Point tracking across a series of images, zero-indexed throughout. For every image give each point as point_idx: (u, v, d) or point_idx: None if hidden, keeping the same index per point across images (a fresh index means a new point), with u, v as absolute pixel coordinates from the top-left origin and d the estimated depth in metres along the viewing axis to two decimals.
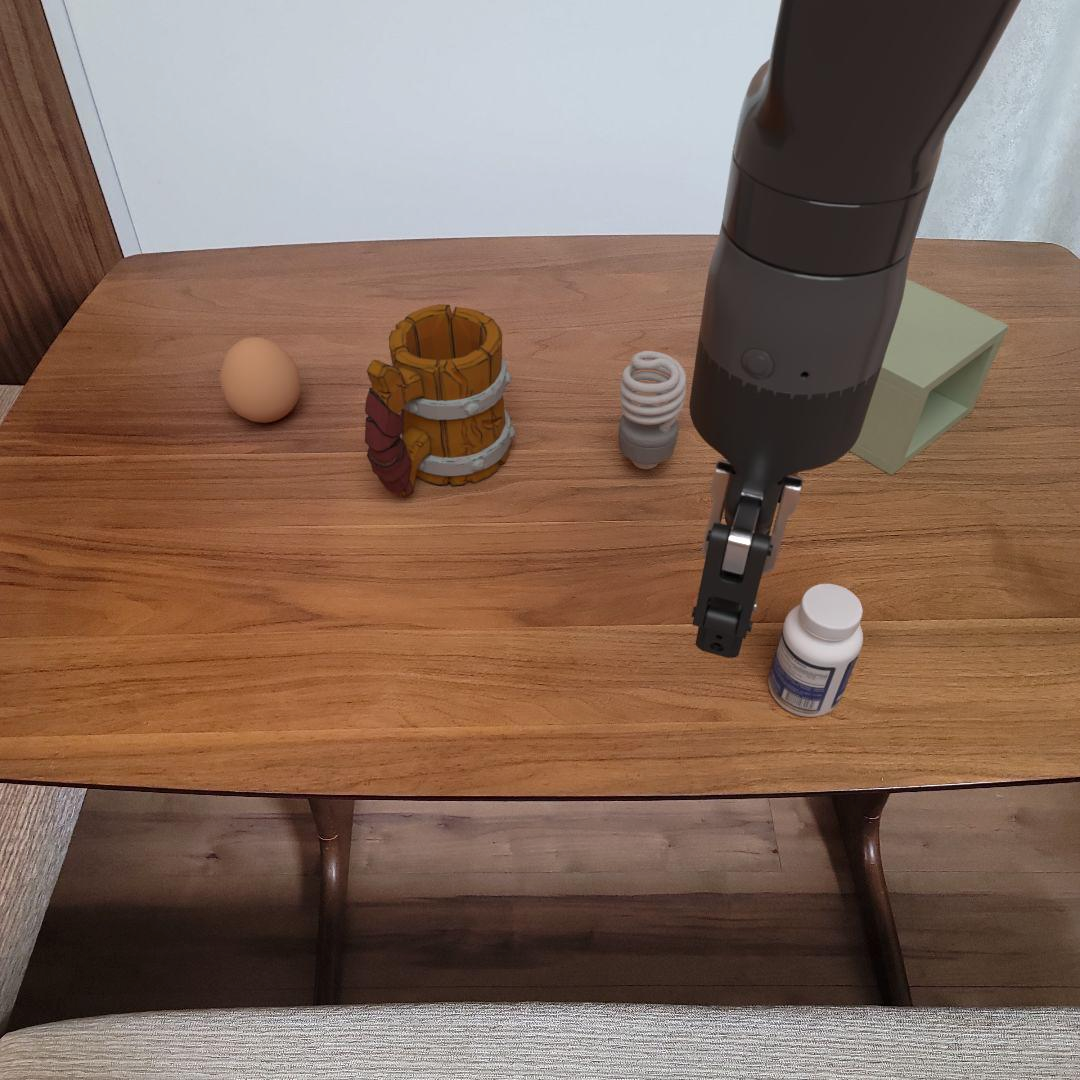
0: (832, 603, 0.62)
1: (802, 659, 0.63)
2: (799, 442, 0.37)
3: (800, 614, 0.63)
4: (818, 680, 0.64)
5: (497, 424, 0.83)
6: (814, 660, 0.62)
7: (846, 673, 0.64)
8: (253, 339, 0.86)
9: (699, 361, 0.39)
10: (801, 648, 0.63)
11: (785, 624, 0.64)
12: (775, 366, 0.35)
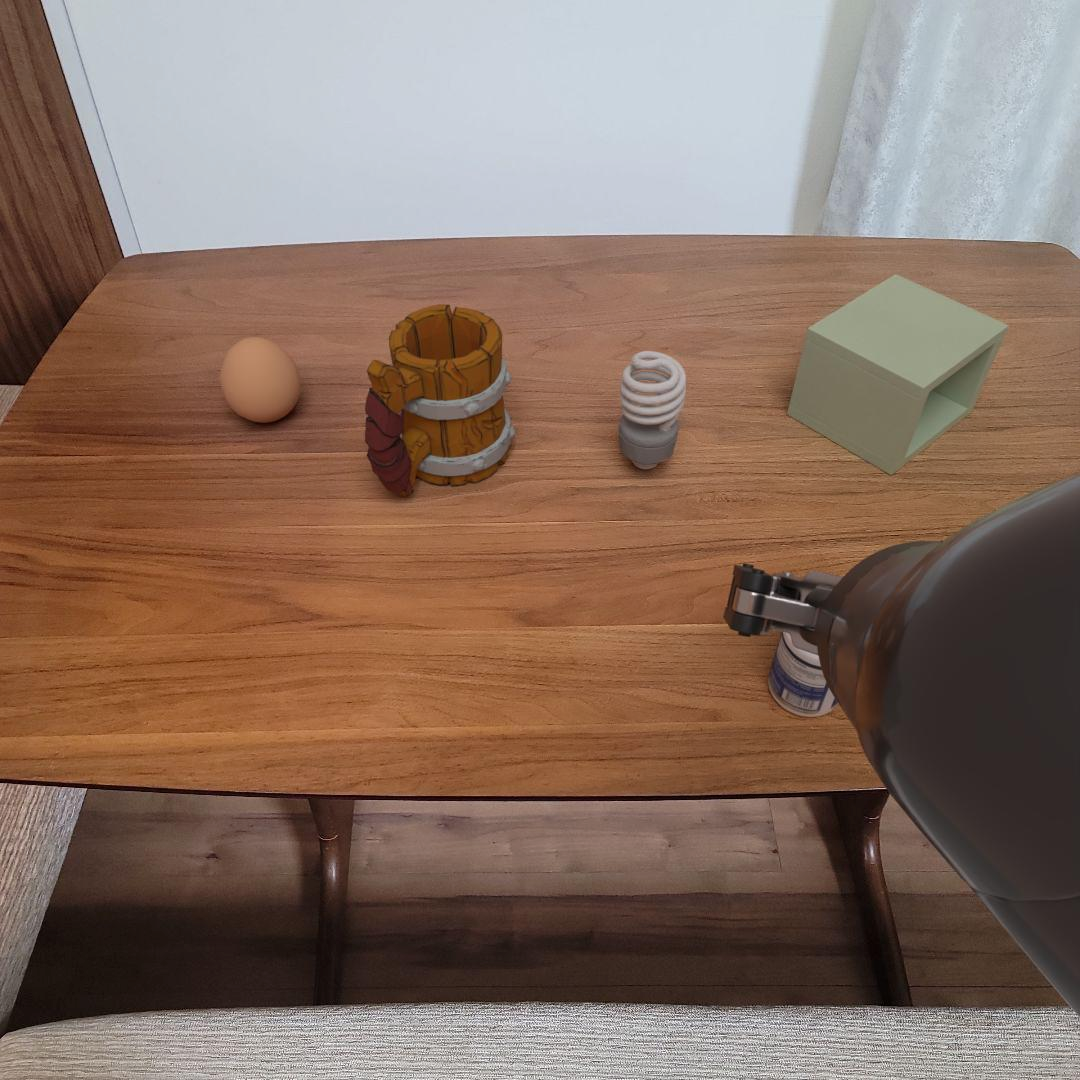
0: None
1: (802, 659, 0.63)
2: None
3: None
4: (818, 680, 0.64)
5: (498, 424, 0.83)
6: (815, 660, 0.62)
7: None
8: (253, 339, 0.86)
9: None
10: None
11: None
12: None
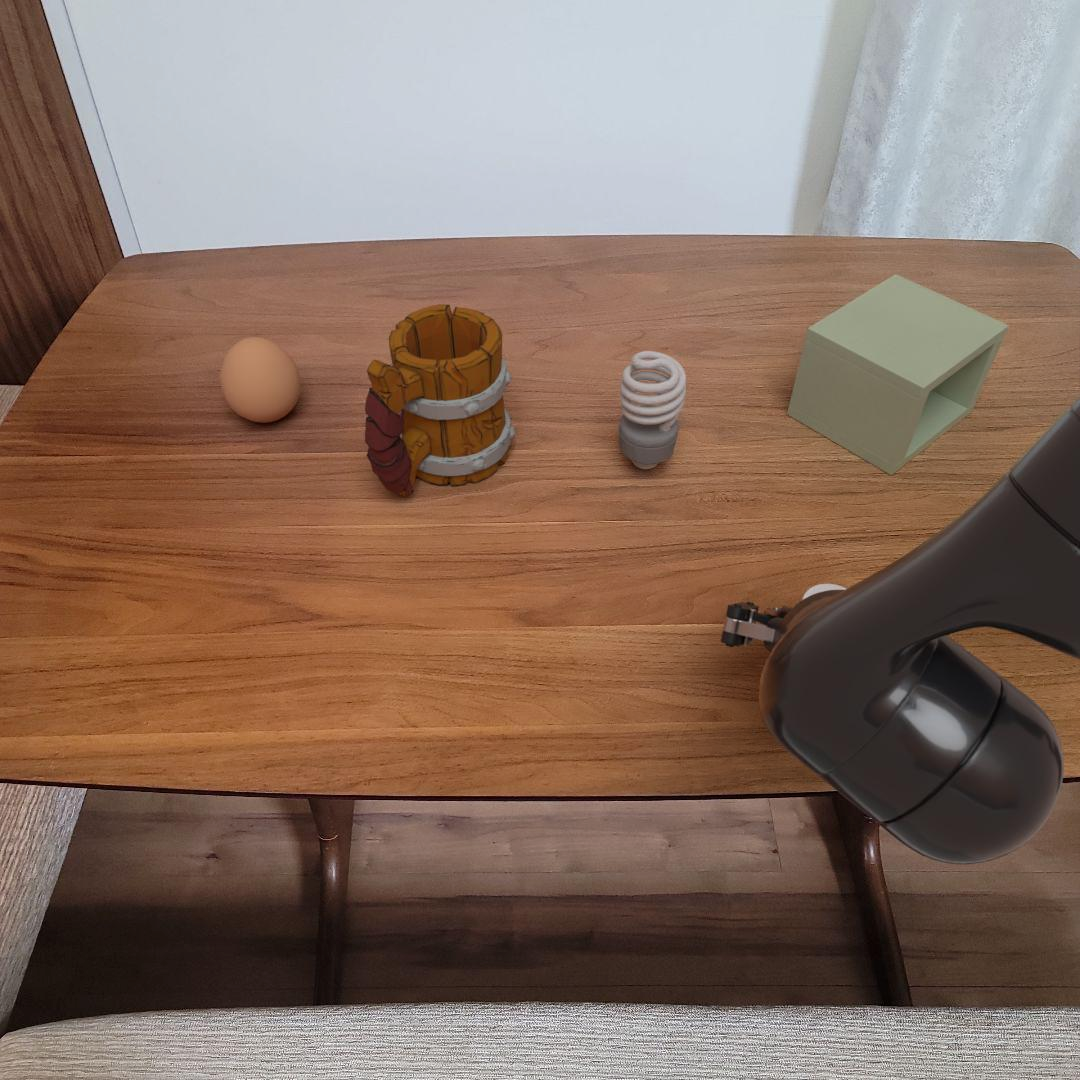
0: None
1: None
2: None
3: None
4: None
5: (498, 424, 0.83)
6: None
7: None
8: (253, 339, 0.86)
9: None
10: None
11: None
12: None
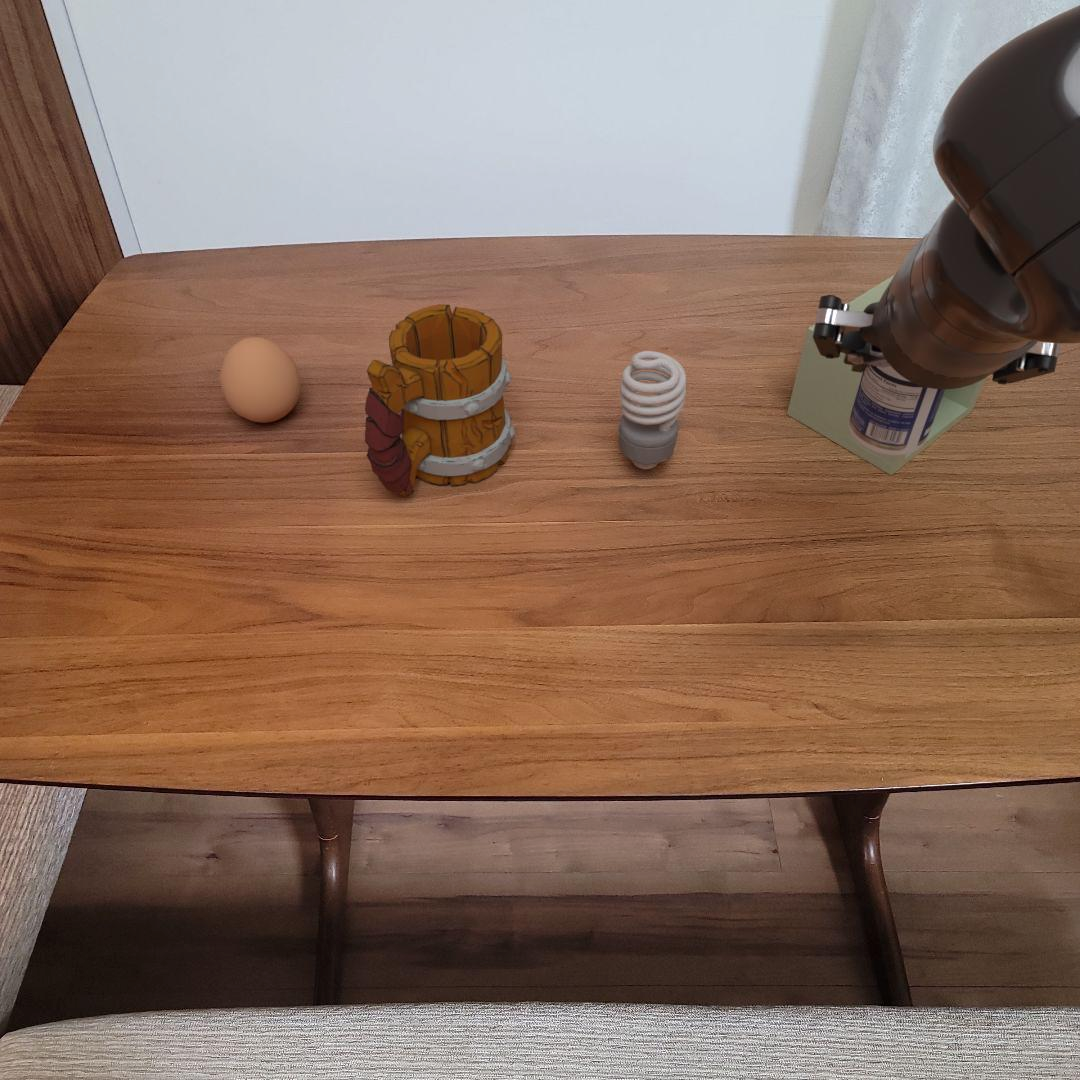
0: None
1: (893, 376, 0.60)
2: None
3: None
4: (909, 402, 0.61)
5: (498, 424, 0.83)
6: None
7: (937, 395, 0.61)
8: (253, 339, 0.86)
9: (979, 377, 0.48)
10: None
11: None
12: None
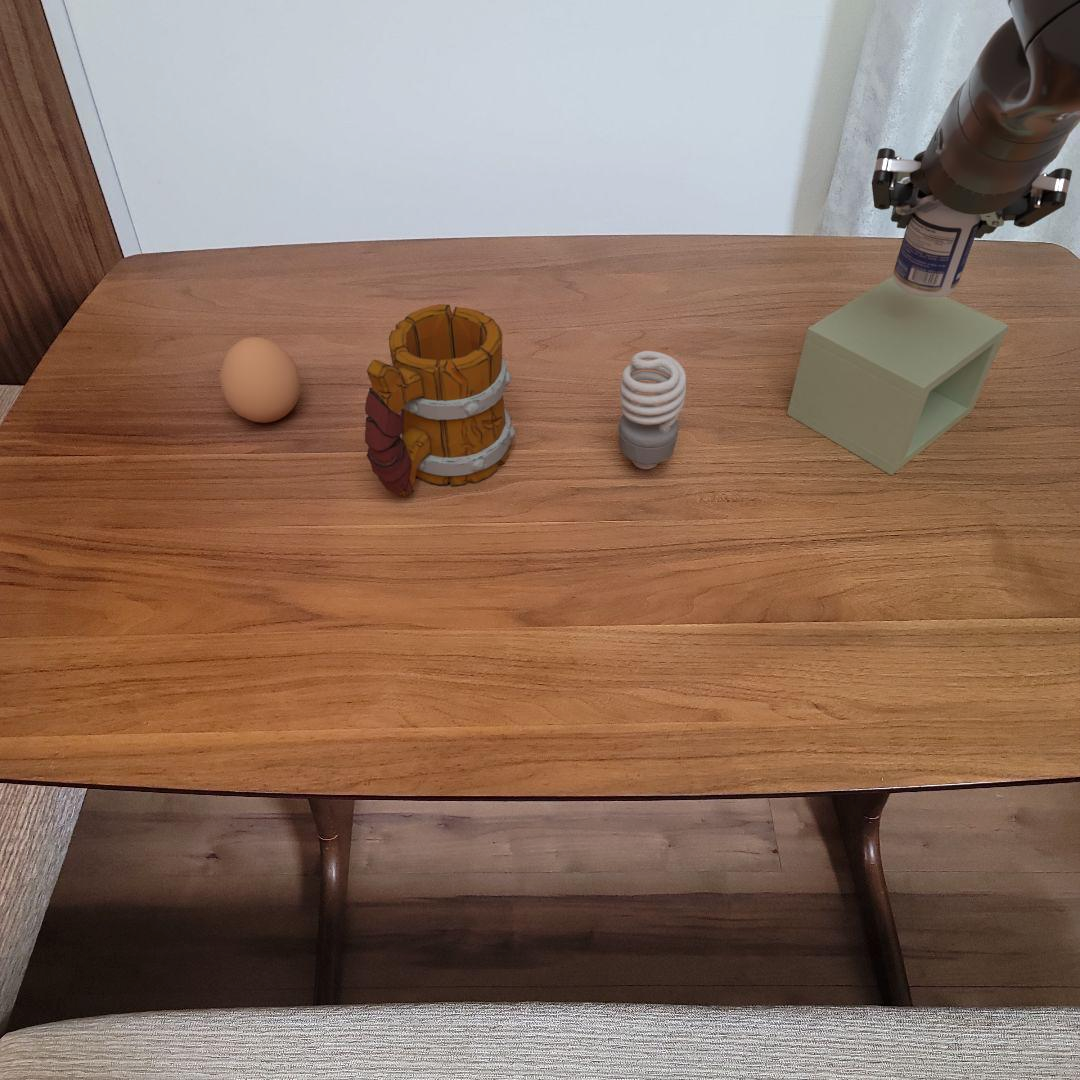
0: None
1: (933, 224, 0.74)
2: None
3: None
4: (945, 246, 0.75)
5: (498, 424, 0.83)
6: (944, 221, 0.73)
7: (968, 241, 0.75)
8: (253, 339, 0.86)
9: (1007, 196, 0.62)
10: (932, 213, 0.74)
11: None
12: None
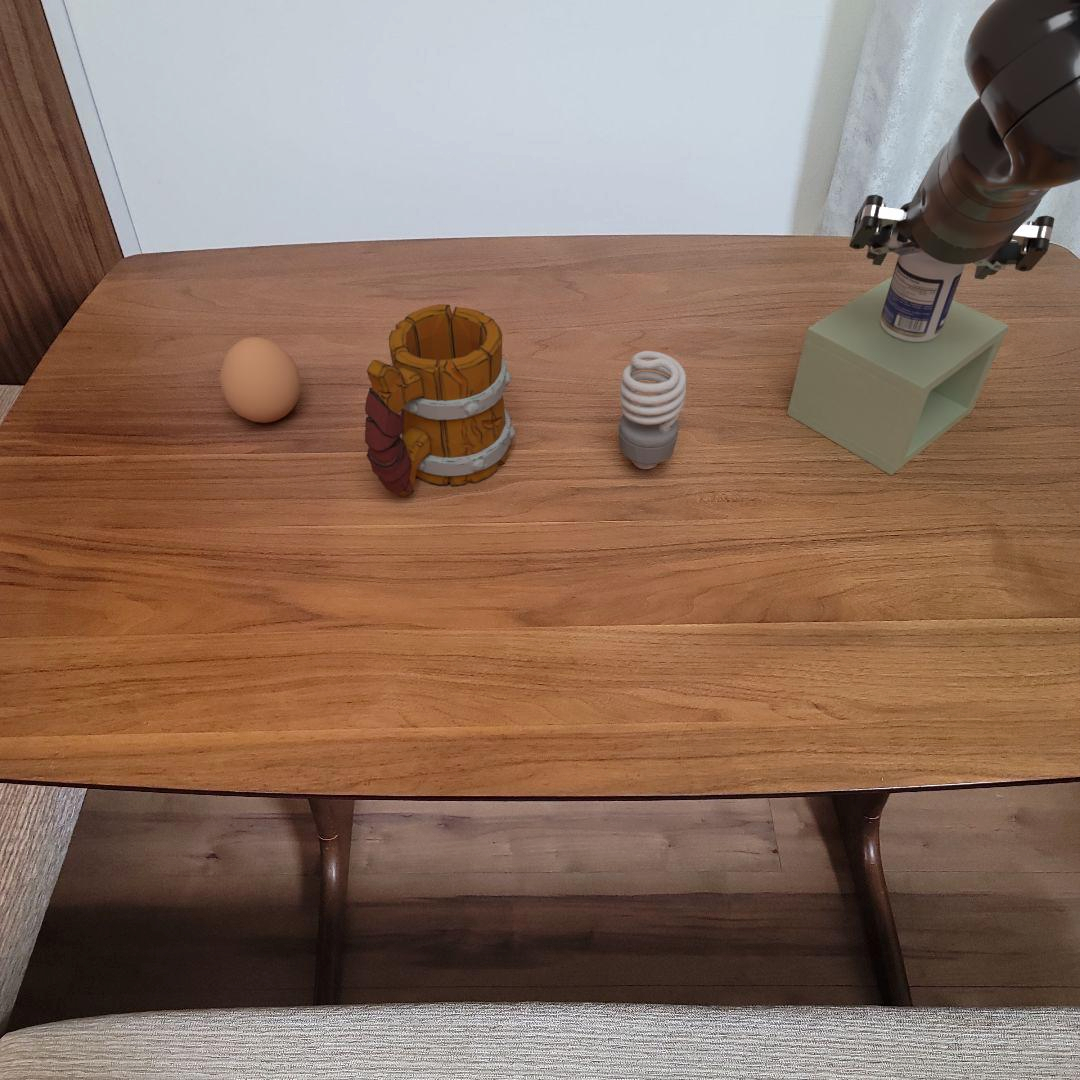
0: None
1: (916, 275, 0.78)
2: None
3: None
4: (928, 296, 0.79)
5: (498, 424, 0.83)
6: (927, 273, 0.77)
7: (951, 291, 0.79)
8: (253, 339, 0.86)
9: (986, 249, 0.66)
10: (916, 265, 0.78)
11: None
12: None
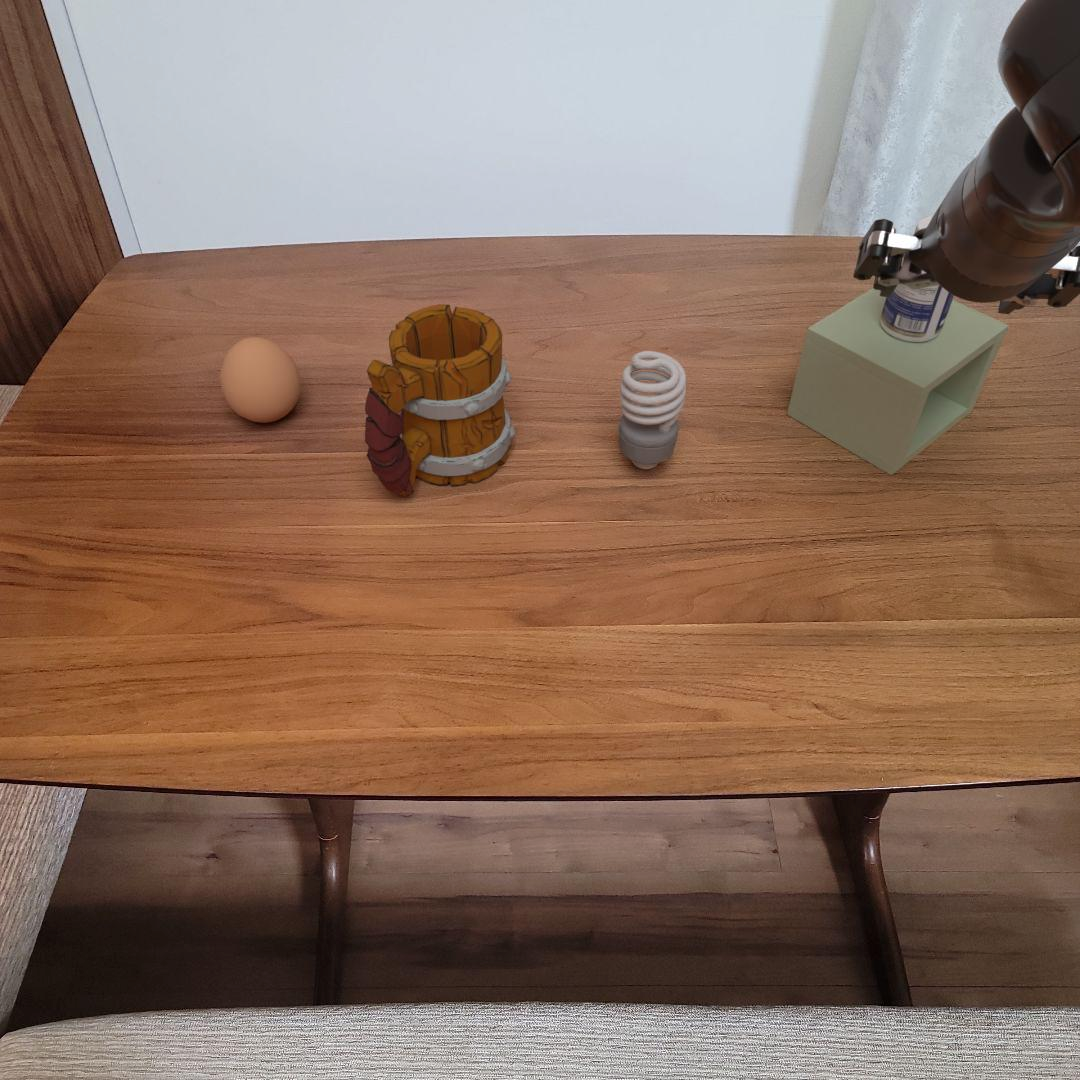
0: None
1: None
2: None
3: None
4: (928, 296, 0.79)
5: (498, 424, 0.83)
6: None
7: None
8: (253, 339, 0.86)
9: (1017, 287, 0.55)
10: None
11: None
12: None
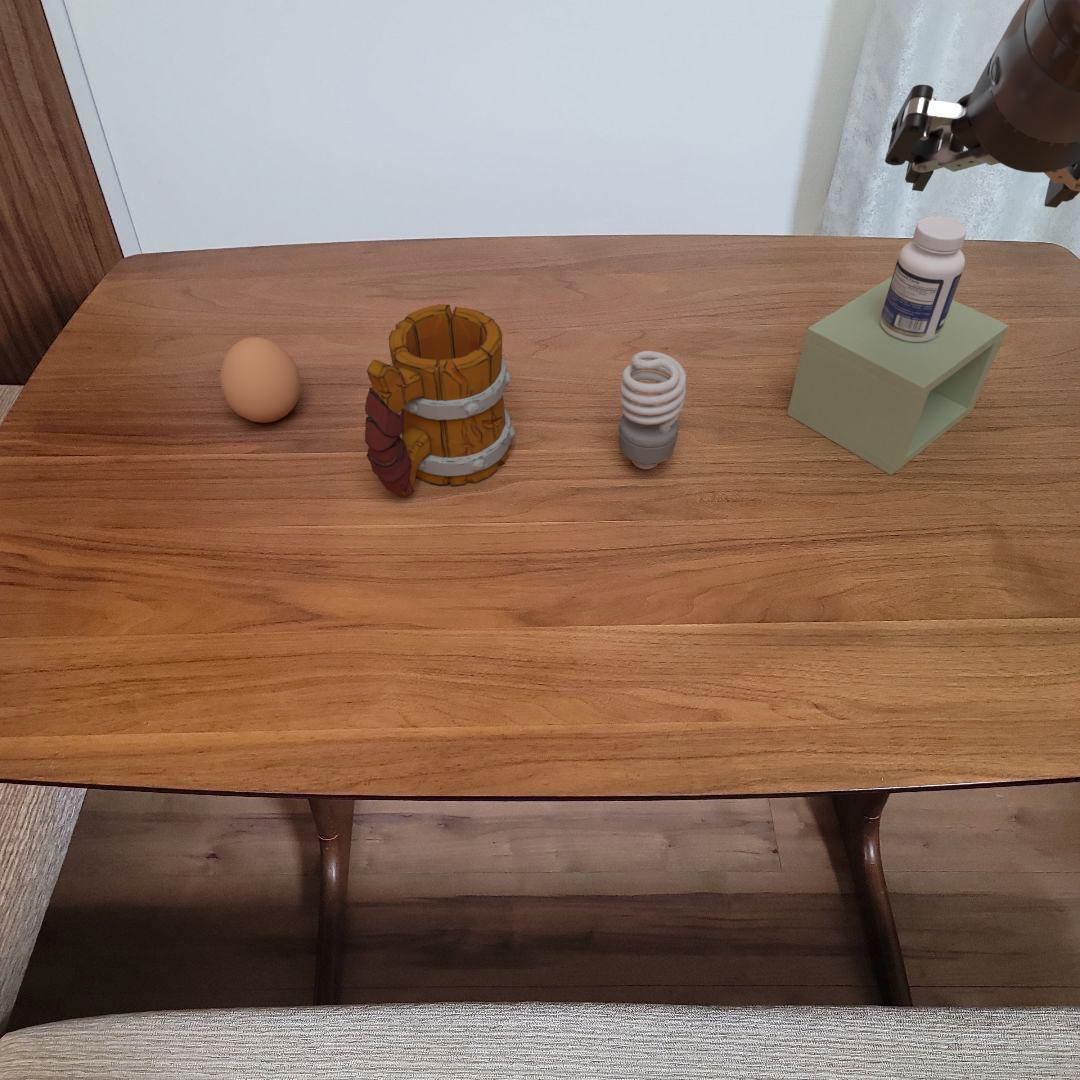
0: (942, 225, 0.77)
1: (916, 275, 0.78)
2: None
3: (915, 237, 0.78)
4: (928, 296, 0.79)
5: (498, 424, 0.83)
6: (927, 273, 0.77)
7: (951, 291, 0.79)
8: (253, 339, 0.86)
9: None
10: (916, 265, 0.78)
11: (900, 253, 0.79)
12: None
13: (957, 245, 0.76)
